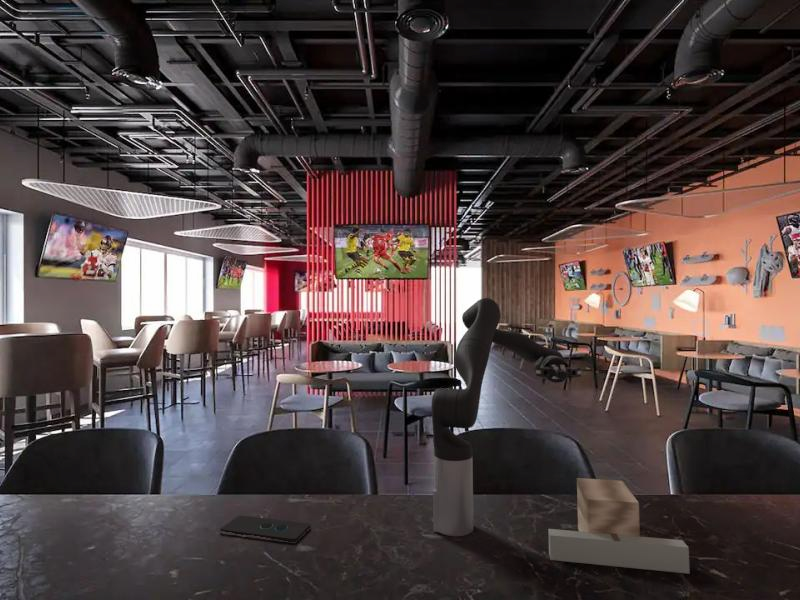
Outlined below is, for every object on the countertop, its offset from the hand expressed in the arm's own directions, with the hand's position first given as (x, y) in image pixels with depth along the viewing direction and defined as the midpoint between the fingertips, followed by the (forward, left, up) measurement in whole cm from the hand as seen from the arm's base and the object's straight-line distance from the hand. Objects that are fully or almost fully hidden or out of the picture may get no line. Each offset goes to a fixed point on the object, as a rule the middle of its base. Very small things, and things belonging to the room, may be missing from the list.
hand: (562, 375), depth 120 cm
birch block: (+6, -18, -35) cm, 40 cm away
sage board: (+6, -26, -35) cm, 44 cm away
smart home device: (-72, -27, -36) cm, 85 cm away
